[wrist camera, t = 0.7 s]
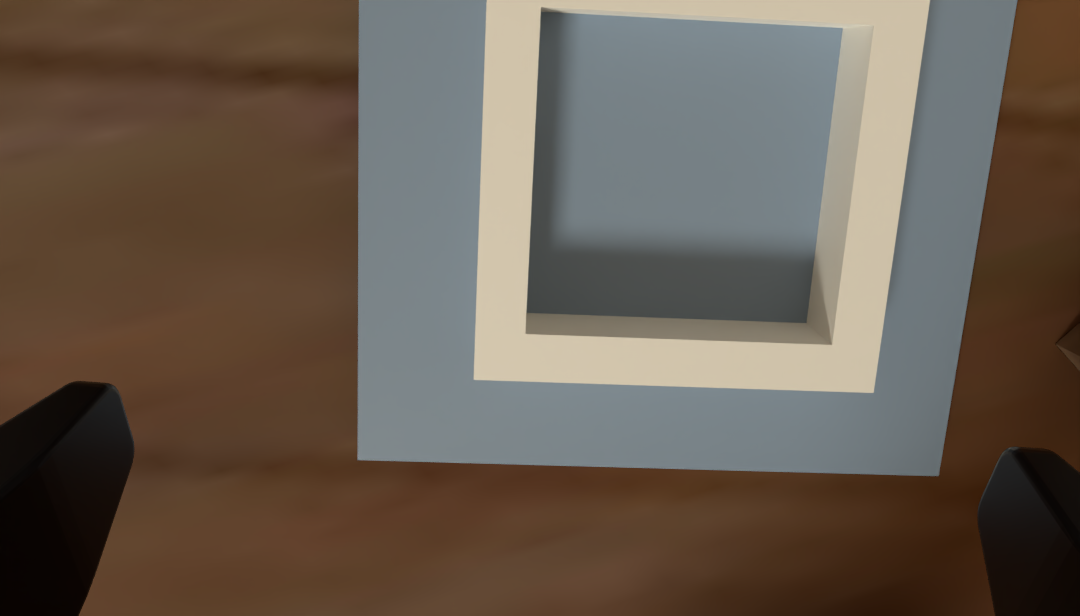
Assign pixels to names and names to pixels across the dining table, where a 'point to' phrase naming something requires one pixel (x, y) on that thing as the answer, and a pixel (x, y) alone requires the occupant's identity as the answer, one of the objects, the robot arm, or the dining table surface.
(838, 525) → the dining table surface
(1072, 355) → the walnut pillar
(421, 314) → the socket
